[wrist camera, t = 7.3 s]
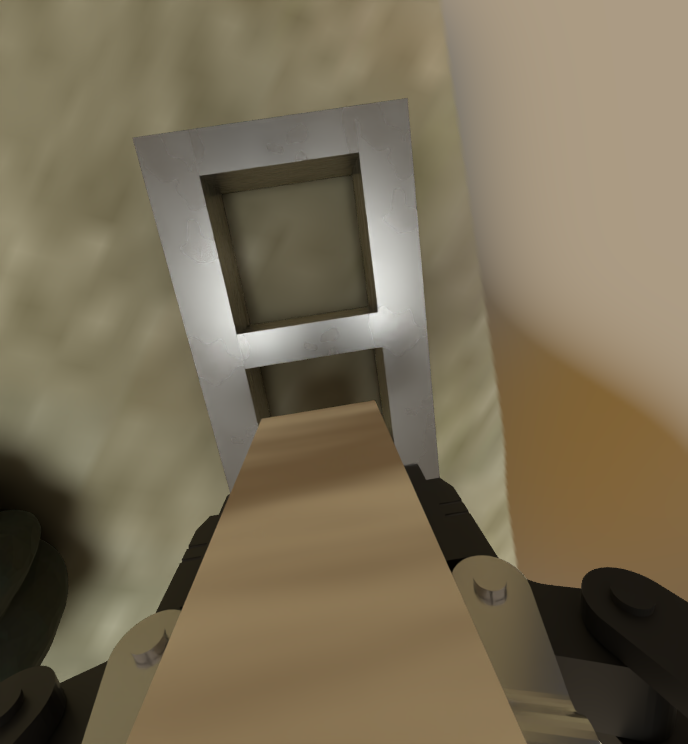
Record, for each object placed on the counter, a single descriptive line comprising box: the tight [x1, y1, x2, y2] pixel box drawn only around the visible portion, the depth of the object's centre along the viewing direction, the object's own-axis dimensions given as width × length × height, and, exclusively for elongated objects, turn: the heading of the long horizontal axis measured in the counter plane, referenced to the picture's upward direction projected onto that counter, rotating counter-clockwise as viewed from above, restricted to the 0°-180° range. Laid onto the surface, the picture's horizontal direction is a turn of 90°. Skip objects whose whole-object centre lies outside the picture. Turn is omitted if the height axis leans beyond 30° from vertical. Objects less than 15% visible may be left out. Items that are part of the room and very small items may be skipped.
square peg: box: [126, 400, 527, 744], centre depth 8 cm, size 4×4×10 cm
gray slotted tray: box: [133, 98, 440, 493], centre depth 17 cm, size 24×10×3 cm, turn 8°
